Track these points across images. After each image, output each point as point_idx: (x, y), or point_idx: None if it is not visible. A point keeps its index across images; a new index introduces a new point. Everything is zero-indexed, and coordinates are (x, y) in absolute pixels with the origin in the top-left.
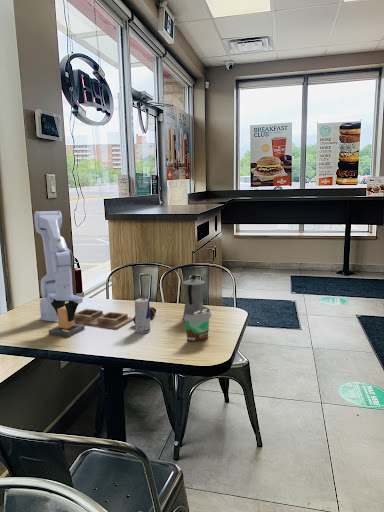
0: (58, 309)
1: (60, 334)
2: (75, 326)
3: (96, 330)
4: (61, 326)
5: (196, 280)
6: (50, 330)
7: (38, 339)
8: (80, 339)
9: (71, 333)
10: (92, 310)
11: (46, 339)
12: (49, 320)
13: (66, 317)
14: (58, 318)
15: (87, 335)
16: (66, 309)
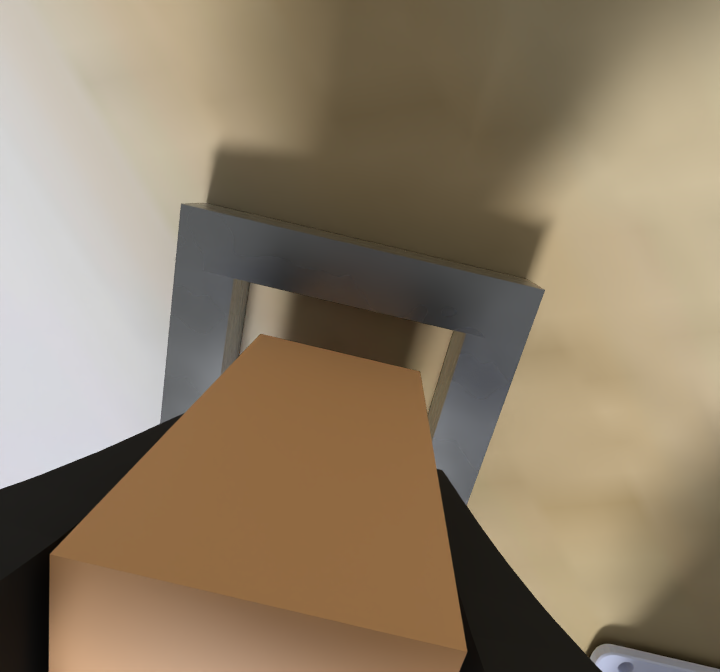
0: (412, 624)
1: (329, 235)
2: None
3: (37, 464)
4: (363, 365)
5: None
6: (513, 291)
7: (592, 66)
8: (24, 169)
9: (183, 268)
10: None
11: (470, 88)
12: (710, 669)
13: (184, 416)
14: (420, 443)
15: (31, 311)
16: (1, 571)
